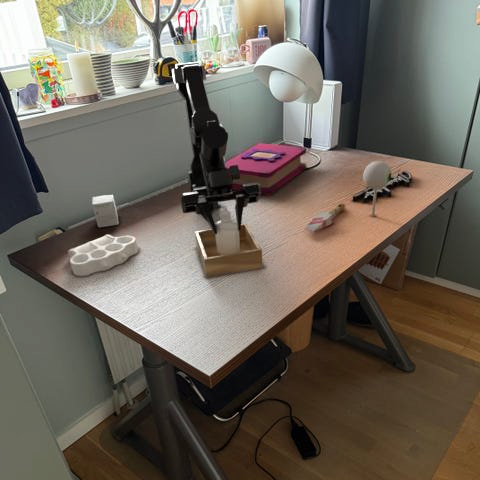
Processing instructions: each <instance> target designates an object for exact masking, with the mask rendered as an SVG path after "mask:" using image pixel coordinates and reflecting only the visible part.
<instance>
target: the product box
mask: <svg viewBox="0 0 480 480" xmlns="http://www.w3.org/2000/svg"><path fill="white" fill-rule="evenodd" d="M91 201H92V203H91V205H92V209H93V213H94V218H95V221H96V226H97V228H99V229H100V228H106V227H111V226H118V225H119V216H118V211H117V206H116V201H115V197H114V194H105V195H98V196H92V199H91Z"/></svg>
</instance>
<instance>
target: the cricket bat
mask: <svg viewBox="0 0 480 480" xmlns="http://www.w3.org/2000/svg"><path fill="white" fill-rule="evenodd" d="M345 208H346V205H345V204H344V203H343V202H341V203H339V204H338V205H336V206H335V207H333V208H332V209H330V210H329V211H327V212H323V211H319V212H318V213H317V214H316V215H315V216H314V217H313V219H312V220H310V222H309V223H308V224H307V225H306V226H305V227H304V228H303V230H305V231H310V232H316V231H318V230H320V229H322V228H325V227H327V226H328V227H329V226H331V225H332V224H333V222H332V218H334V217H335V216H336V215H337V214H339V213H340V212H342V211H343V210H345Z"/></svg>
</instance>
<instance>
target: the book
mask: <svg viewBox="0 0 480 480" xmlns="http://www.w3.org/2000/svg"><path fill="white" fill-rule="evenodd" d="M306 153H307V147H305V146H293V145H283V144H273V143H262V142H258V143H257V144H254V145H253V146H251V147H250V148H248V149H245V150H244V151H242V152H241V153H239V154H236V155H235V156H234V157H232V158H230V159H228V160H225V163H226V167H227V170H229V167H230V166H232V165H238V167H239V172H240V179H239V180H234V181H233V189H232V190H233V191H239V190H242V186H243V184H250V183H258V184H259V185H260V188H261V195H262V196H263V195H264V196H271V195H273V194H274V193H276V192H277V190H278V189H279V188H281V187H283V186H284V185H285V184H286V183H288V182H289V181H291V180H292V179H293V178H294V177H296V176H297V175H298V174H300V173H302V172H304V171H305V170H306V169H307V163H305V162H301V157H302V156H304V155H305V154H306Z"/></svg>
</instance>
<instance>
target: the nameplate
mask: <svg viewBox="0 0 480 480" xmlns="http://www.w3.org/2000/svg"><path fill="white" fill-rule="evenodd" d="M412 178H413V175H412V174H411V173H410V172H409V171H407V170H403V171H401V172H398V173H397V176H391V179H390V181H389V183H388V184H387V185H386V186H385V187H383V188H381V189H377V194H376V199H377V198H384V196H385V197H388V198H391V197H392V190H393V189H394V188H398V187H399V186H404V187H406V188H409V187H410V184H411V183H412ZM373 198H374V189H371V188H369V187H368V186H367V187H366V188H365V189H362V190H361V191H359V192H357V193H355V194H353V195H352V202H355V203H356V202H358V201H360V200H362V199H363V201H362V203H363V204H367V202H369V201H371V202H373Z"/></svg>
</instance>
